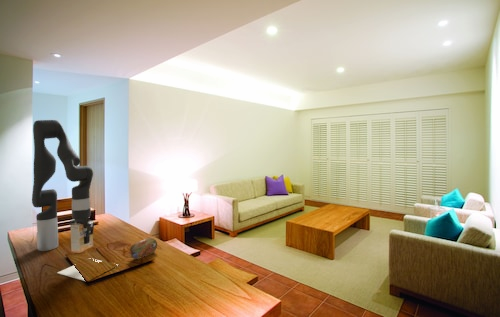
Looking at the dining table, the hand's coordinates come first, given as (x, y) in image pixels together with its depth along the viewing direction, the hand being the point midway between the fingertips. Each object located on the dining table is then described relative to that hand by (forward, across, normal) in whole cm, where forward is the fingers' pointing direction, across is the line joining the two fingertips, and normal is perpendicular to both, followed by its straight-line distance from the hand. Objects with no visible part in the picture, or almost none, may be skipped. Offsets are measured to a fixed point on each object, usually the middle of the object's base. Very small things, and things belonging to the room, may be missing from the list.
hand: (82, 242), depth 124 cm
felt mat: (+12, +5, -1) cm, 13 cm away
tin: (+12, +18, +20) cm, 30 cm away
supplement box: (+4, 0, 0) cm, 4 cm away
